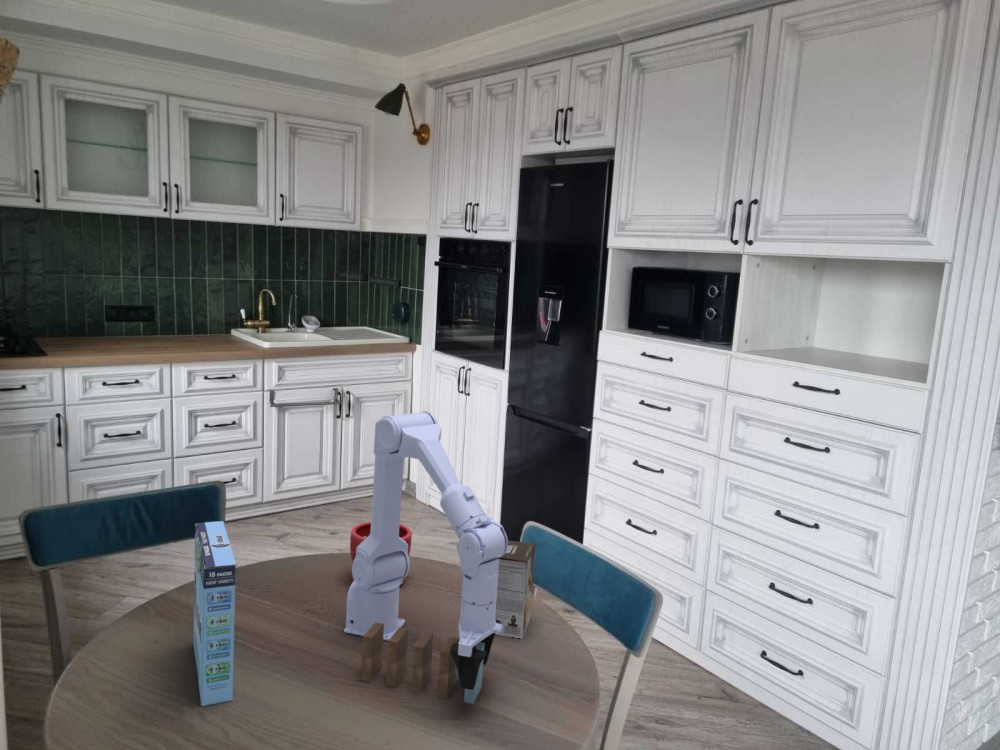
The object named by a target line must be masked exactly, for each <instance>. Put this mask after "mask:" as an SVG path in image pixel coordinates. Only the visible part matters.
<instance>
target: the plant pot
mask: <svg viewBox="0 0 1000 750" xmlns="http://www.w3.org/2000/svg"><path fill="white" fill-rule="evenodd" d="M350 531H351V532H350V540H349V541H350V545H349V548H350V549H349V550H350V558H351V563H352V564H353V561H354V559H355V556H356V548H357V547H358V546H359V545H360V544H361V543H362V542H363V541H364V540H365V539H366V538H367V537H368V536H369V535H370V531H371V521H370V522H369V521H368V522H363V523H359V524H356V525H355V526H354V527H353V528H352V529H351V530H350ZM412 534H413V532H412V529H410V528H409V527H407V526H405V525H403V524H400V525H399V537H400V538H402V539H403V540H404V541H405V542H406V543H407V544H408V556H409V557H410V553H411V547H412ZM351 579H352V582H353V581H354V578H353V574H352V573H351ZM405 579H406V577H404V578H403V582H404V581H405Z"/></svg>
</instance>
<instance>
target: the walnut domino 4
mask: <svg viewBox="0 0 1000 750" xmlns="http://www.w3.org/2000/svg"><path fill="white" fill-rule="evenodd" d="M459 642H460V637H454V636H450V635H449V636H448V638H447V640H446V641H445V643H444V644H443V645H442V648H441V649H440V651H439V665H438V667H439V668H438V683H437V684H438V685H437V697H439V698H444V699H448V697H449V696H450V693H451V691H452V690H453V689H454V687H455V684H456V682H457V674H458V670H457V666H456V664H455V661H454V659H453V658H452V656H451V654H450V648H451V646H452V645H453V643H458V644H459Z"/></svg>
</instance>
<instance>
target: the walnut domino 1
mask: <svg viewBox="0 0 1000 750" xmlns="http://www.w3.org/2000/svg"><path fill="white" fill-rule="evenodd" d="M383 632H384V624H382V623H377V622H375V623H374V624H373V625H372V626H371V628H370V629H369V630H368V631H367V632H366V633H365V634H364V636H362V650H361V651H362V654H361V655H362V657H361V661H362V662H361V677H360V678H361V681H362V682H367V683H372V680H373V679H374V678H375V677H376V675H377V674H379V671H380V670H381V669H382V668H383V655H384V654H383V652H384V640H383Z"/></svg>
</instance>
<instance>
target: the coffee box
mask: <svg viewBox="0 0 1000 750" xmlns="http://www.w3.org/2000/svg"><path fill="white" fill-rule="evenodd" d="M536 548H537V543H533V542H525V541H524V542H523V541H514V540H508V548H507V551H506V553H505V554H504V555H503V556H501V557H499V558H497V559H499V571H498V585H497V600H496V614H495V619H496V620H499V621H500V622H501V625H502V630H501V632H500V633H496V634H495V636H501V637H508V638H512V637H514V638H513V639H518V638H520V639H519V640H523V639H524V637H525V634H526V631H527V628H528V626H529V624H530V620H531V617H532V603H533V602H532V601H533V591H534V589H533V588H534V575H535V564H536V563H535V561H536V550H537V549H536Z"/></svg>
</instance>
